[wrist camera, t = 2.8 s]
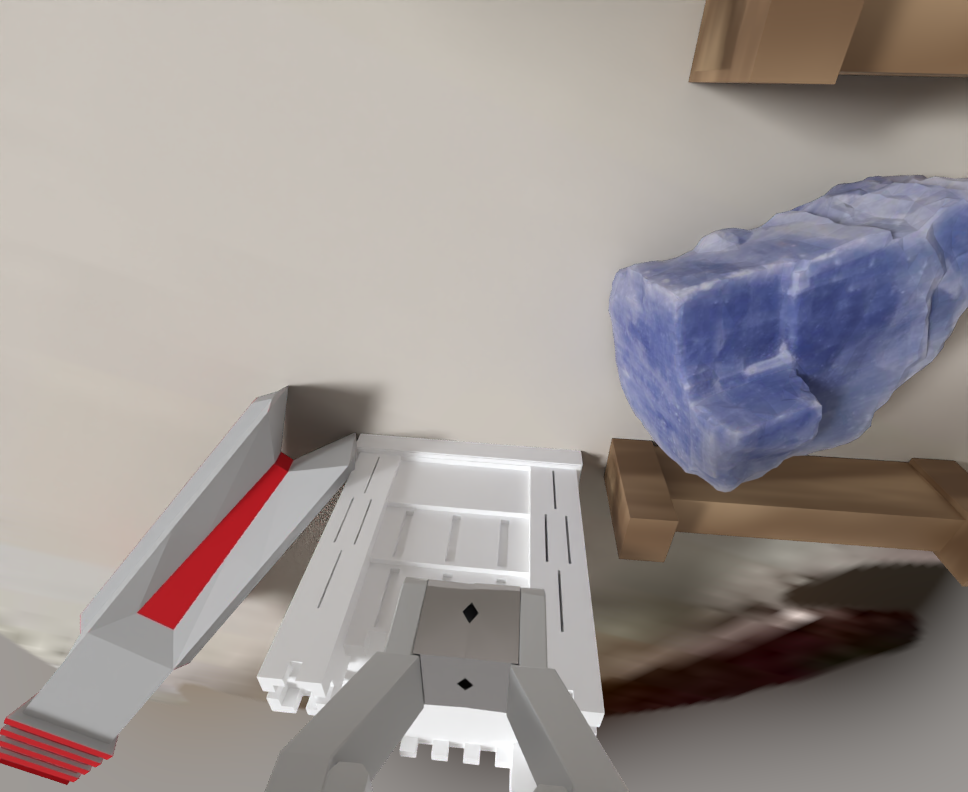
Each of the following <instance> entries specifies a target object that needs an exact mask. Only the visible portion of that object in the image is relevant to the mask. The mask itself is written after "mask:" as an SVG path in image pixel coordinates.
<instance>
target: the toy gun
mask: <svg viewBox="0 0 968 792" xmlns="http://www.w3.org/2000/svg"><path fill="white" fill-rule="evenodd" d="M287 394H288V386H286V387H284V388H283V389H281V390H279V391H277V392H273V393H270V394H267V395H264V396H260V397H257V398H256V399H255V400H254V401H253V402H252V403H251V404H250V406H249V407H248V408H247V409H246V411H245V412H244V413H243V414H242V416H241V417H240V418H239V419H238V421H237V422H236V423H235V424H234V425H233V427H232V428H231V429H230V430H229V432H228V433H227V434H226V435H225V437H224V438H223V439H222V440H221V442H220V443H219V444H218V445H217V446H216V448H215V449H214V450H213V451H212V453H211V454H210V455H209V456H208V458H207V459H206V460H205V461H204V463H203V464H202V465H201V466H200V467H199V469H198V470H197V471H196V472H195V474H194V475H193V476H192V477H191V479H190V480H189V481H188V482H187V483H186V485H185V486H184V487H183V488H182V490H181V491H180V492H179V493H178V495H177V496H176V497H175V498H174V500H173V501H172V502H171V503H170V504H169V506H168V507H167V508H166V509H165V511H164V512H163V513H162V514H161V516H160V517H159V518H158V519H157V521H156V522H155V523H154V524H153V525H152V527H151V528H150V529H149V530H148V532H147V533H146V534H145V535H144V537H143V538H142V539H141V540H140V542H139V543H138V544H137V545H136V546H135V548H134V549H133V550H132V551H131V553H130V554H129V555H128V556H127V558H126V559H125V560H124V561H123V563H122V564H121V565H120V566H119V567H118V569H117V570H116V571H115V572H114V574H113V575H112V576H111V577H110V579H109V580H108V581H107V582H106V584H105V585H104V586H103V587H102V588H101V590H100V591H99V592H98V593H97V595H96V596H95V597H94V598H93V600H92V601H91V602H90V603H89V605H88V606H87V607H86V608H85V609H84V611H83V612H82V613H81V614H80V635H79V637H78V639H77V640H76V642H75V644H74V645H73V647H72V649H71V651H70V652H69V654H68V656H67V657H66V659H65V661H64V662H63V663H62V664H61V666H60V667H59V668H58V669H57V671H56V672H55V673H54V674H53V675H52V677H51V678H50V679H49V680H48V682H47V683H46V684H45V685H44V687H43V688H42V689H41V690H40V691H39V692H38V693H37V694H36V695H34V696H33V697H32V698H31V699H29V700H28V701H27V702H25V703H24V704H23V705H21V706H20V707H19V708H18V709H16V710H15V711H14V712H12V713H11V714H10V715H9V716H7V717H6V719H5V721H4V723H5V724H6V725H5V726H4V727H3V728H2V729H1V731H0V735H1V736H0V763H2V764H5V765H8V766H11V767H14V768H17V769H20V770H23V771H26V772H29V773H32V774H35V775H39V776H41V777H45V778H48V779H51V780H54V781H57V782H60V783H63V784H66V785H67V784H68V783H69V781H71V782H74V781H76V780H77V779H79V777H80V775H81V774H83V775H85V774H86V773H88V772H89V771H90V770H91V767H92V766H93V767H97V766H98V765H100V764H101V763H102V760H103V759H106V760H107V759H109V758H111V757H112V756H113V754H114V750H115V746H116V742H117V738H118V734H119V733H120V732H121V730H122V729H123V728H124V727H125V726H126V724H127V723H128V722H129V721H130V720H131V719H132V718H133V716H134V715H135V714H136V713H137V712H138V711H139V709H140V708H141V707H142V706H143V705H144V704H145V702H146V701H147V700H148V699H149V698H150V697H151V695H152V694H153V693H154V692H155V691H156V690H157V688H158V687H159V686H160V685H161V684H162V683H163V681H164V680H165V679H166V678H167V677H168V676H169V674H170V673H171V672H172V671H173V670H175V669H177V668H179V667H182V666H184V665H186V664H189V663H190V662H191V661H192V659H193V658H194V657H195V656H196V655H197V654H198V652H199V651H200V650H201V649H202V648H203V647H204V645H205V644H206V643H207V642H208V641H209V640H210V638H211V637H212V636H213V635H214V634H215V633H216V631H217V630H218V629H219V628H220V627H221V626H222V625H223V623H224V622H225V621H226V620H227V619H228V618H229V616H230V615H231V614H232V613H233V612H234V611H235V609H236V608H237V607H238V606H239V605H240V604H241V602H242V601H243V600H244V599H245V598H246V597H247V595H248V594H249V593H250V592H251V591H252V590H253V588H254V587H255V586H256V585H257V584H258V583H259V582H260V580H261V579H262V578H263V577H264V576H265V575H266V573H267V572H268V571H269V570H270V569H271V568H272V566H273V565H274V564H275V563H276V562H277V561H278V559H279V558H280V557H281V556H282V555H283V554H284V552H285V551H286V550H287V549H288V548H289V547H290V546H291V544H292V543H293V542H294V541H295V540H296V539H297V537H298V536H299V535H300V534H301V533H302V532H303V530H304V529H305V528H306V527H307V526H308V525H309V523H310V522H311V521H312V520H313V519H314V518H315V516H316V515H317V514H318V513H319V512H320V511H321V509H322V508H323V507H324V506H325V505H326V504H327V503H328V501H329V500H330V499H331V498H332V497H333V496H334V494H335V493H336V492H337V491H338V490H339V489H340V487H341V486H342V485H343V484H344V483H345V482H346V480H347V479H348V477H349V475H350V473H351V471H353V470H355V462H356V450H357V442H356V433H353V434H350V435H348V436H346V437H344V438H341V439H339V440H337V441H335V442H333V443H330V444H328V445H326V446H324V447H321V448H319V449H317V450H315V451H313V452H310V453H308V454H306V455H304V456H301V457H299V458H297V459H295V460H293V459H291V458H290V457H288V456H287V455H285V454H284V453H282V452H281V447H282V438H283V429H284V420H285V412H286V403H287Z"/></svg>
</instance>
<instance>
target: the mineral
mask: <svg viewBox="0 0 968 792" xmlns="http://www.w3.org/2000/svg"><path fill="white" fill-rule="evenodd" d="M967 308H968V178H960V179H953V178H946V177H936V176H934V177H930V178H926V177H925V176H923V175H913V176H904V175H900V176H887V177H881V176H875V177H868V178H866V179H864V180H862V181H859V182H855V183H843V184H838V185H836V186H834V187H833V188H832V189H830V190H829V191H828V192H827V193H826V194H825V195H824V196H821V197H819V198H817V199H815V200H814V201H812V202H809V203H807V204H804V205H802V206H799V207H797V208H794V209H792V210H791V211H787V212H782V213H777V214H776V215H774V216H773V217H772V218H771V219H770V220H769V221H768V222H766V223H765V224H764V225H762V226H761V227H758V228H755V229H751V230H744V229H737V228H728V229H722V230H718V231H714V232H712V233H710V234H708V235H706V236H704V237H702V239H701V240H700V241H699V243H698V244H697V246H696V247H695V248H694V250H692V251H689V252H687V253H685V254H683V255H681V256H679V257H676V258H674V259H670V260H665V261H650V262H645V263H639V264H634V265H632V266H630V267H626V268H623V269H620V270H619V271H618V272H617V273H616V275H615V278H614V280H613V283H612V291H611V295H610V298H609V314H610V317H611V320H612V327H613V336H614V343H615V351H616V363H617V367H618V372H619V377H620V382H621V386H622V389H623V391H624V393H625V396H626V398H627V400H628V402H629V404H630V406H631V408H632V410H633V412H634V414H635V415H636V416H637V417H638V418H639V419H640V420H641V422H642V424H643V426H644V428H645V429H646V430H647V431H648V432H649V433H650V435H651V436H652V438H653V440H654V441H655V442H656V443H657V444H658V445H659V447H660V448H661V449H662V450H663V451H664V452H665V453H666V454H667V455H668V456H669V457H670V458H671V459H673V460H674V461H675V462H677V463H678V464H679V465H680V466H681V467H682V469H683V470H684V471H685V472H686V473H690V474H695V475H698V476H699V477H701V478H703V479H704V480H705V481H707V482H708V483H709V484H711V485H712V486H713V487H714V488H715V489H716V490H718V491H721V492H730V491H732V490H733V489H735V488H736V487H738V486H739V485H740V484H741V483H743V482H747V481H751V480H754V479H757V478H760V477H762V476H763V475H765V474H766V473H767V472H768V471H770V470H771V469H773V468H777V467H778V466H779V465H780V464H781V463H782V462H783V460H785V459H787V458H790V457H792V456H804V455H808V454H810V453H813V452H816V451H821V450H826V449H830V448H834V447H837V446H840V445H843V444H847V443H849V442H851V441H853V440H855V439H857V438H859V437H860V436H861V435H862V434H863V433H864V432H865V431H866V430H867V429H868V428H869V427H870V426H871V421H872V418H873V415H874V412H875V411H876V410H878V409H879V408H880V407H881V406H882V405H884V404H885V403H886V402H887V401H888V400H889V398H890V396H891V395H892V393H893V392H894V391H895V390H896V389H897V388H898V387H900V386H901V385H902V384H903V383H904V382H906V381H907V380H908V379H909V378H910V377H912V376H913V375H914V374H915V373H917V372H919V371H920V370H922V369H923V368H924V367H926V366H927V365H928V364H929V363H930V362H932V360H933V359H934V358H935V357H936V356H937V355H938V353H939V352H940V351H941V350H942V348H943V347H944V342H945V341H946V339H947V338H948V337H949V336H950V335H951V333H952V331H953V329H954V327H955V325H956V323H957V320H958V318H959V317H960V316H961V314H962V313H963V312H964V311H965V310H966V309H967Z"/></svg>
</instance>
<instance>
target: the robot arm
mask: <svg viewBox="0 0 968 792" xmlns="http://www.w3.org/2000/svg"><path fill="white" fill-rule="evenodd" d="M424 704H425V705H438V706H452V707H465V708H472V709H480V710H487V711H495V712H502V713H506V716H507V718H508V721H509V723H510V725H511V727H512V730H513V732H514V734H515V737H516V739H517V741H518V744H519V746H520V748H521V751H522V753H523V755H524V757H525V760H526V762H527V764H528V767H529V769H530V771H531V774H532V776H533V778H534V781H535V783H536V785H537V787H536V788H535V790H534V791H533V792H629V790H628V788H627V787H626V785H625V784H624V782H623V780H622V779H621V777H620V775H619V774H618V772H617V770H616V769H615V767H614V765H613V764H612V762H611V760H610V759H609V757H608V756H607V754H606V752H605V751H604V749H603V747H602V746H601V744H600V742H599V741H598V739H597V737H596V736H595V734H594V732H593V731H592V729H591V727H590V726H589V724H588V723H587V721H586V719H585V718H584V716H583V714H582V713H581V711H580V709H579V708H578V706H577V704H576V703H575V701H574V699H573V698H572V696H571V695H570V693H569V691H568V690H567V688H566V686H565V685H564V683H563V681H562V680H561V678H560V676H559V675H558V673H557V671H556V670H555V669H552V668H548V662H547V625H546V594H545V591H544V589H540V588H524V587H521V588H520V586H509V585H495V584H481V583H475V584H472V583H462V582H453V581H443V580H433V579H426V578H414V577H406V578H405V580H404V582H403V584H402V587H401V590H400V594H399V598H398V602H397V605H396V609H395V613H394V616H393V620H392V624H391V628H390V631H389V635H388V639H387V642H386V646H385V650H384V652H379V651H377V652H376V653H375V654H374V655H373V656H372V657H371V658H370V659H369V660H368V661H367V662H366V663H365V664H364V665H363V666H362V667H361V668H360V669H359V670H358V671H357V673H356V674H355V675H354V676H353V677H352V678H351V679H350V680H349V681H348V682H347V683H346V684H345V685H344V686H343V687H342V688H341V689H340V690H339V691H338V692H337V693H336V694H335V695H334V696H333V697H332V698H331V699H330V700H329V701H328V703H327V704H326V705H325V706H324V707H323V708H322V709H321V710H320V711H319V712H318V713H317V714H316V715H315V716H314V717H313V718H312V719H311V720H310V721H309V722H308V723H307V724H306V725H305V726H304V727H303V728H302V729H301V731H299V733H298V734H297V735H296V736H295V737H294V738H293V739H292V740H291V741H290V742H289V743H288V744H287V745H286V746H285V747H284V748H283V749H282V750H281V751H280V753H279V756H278V758H277V761H276V763H275V766H274V769H273V771H272V774H271V776H270V779H269V781H268V784H267V787H266V789H265V792H373V789H372V785H371V781H372V780H373V778H374V777H375V775H376V774H377V773H378V771H379V770H380V769H381V767H382V765H383V764H384V763H385V762H386V760H387V759H388V757H389V756H390V754H391V753H392V752H393V750H394V749H395V748H396V746H397V745H398V743H399V742H400V741H401V739H402V738H403V736H404V735H405V734H406V732H407V731H408V729H409V728H410V727H411V725H412V724H413V722H414V721H415V720H416V718H417V717H418V715H419V714H420V713H421V711H422V710H423V708H424Z"/></svg>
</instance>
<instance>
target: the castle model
mask: <svg viewBox="0 0 968 792" xmlns="http://www.w3.org/2000/svg"><path fill="white" fill-rule="evenodd" d="M582 466H583V463H582V455H581V451H580V450H567V449H554V448H541V447H528V446H516V445H503V444H490V443H477V442H464V441H451V440H439V439H426V438H413V437H400V436H387V435H375V434H362V433H361V434H360V436H359V438H358V440H357V450H356V462H355V470H353V471H351V473H350V475H349V477H348V480H347V482H346V484H345V486H344V488H343V490H342V493H341V495H340V497H339V499H338V501H337V503H336V506H335V508H334V510H333V512H332V514H331V516H330V519H329V521H328V523H327V525H326V527H325V530H324V532H323V534H322V536H321V538H320V540H319V543H318V545H317V547H316V549H315V551H314V553H313V556H312V558H311V560H310V562H309V564H308V566H307V569H306V571H305V573H304V575H303V577H302V579H301V582H300V584H299V586H298V588H297V590H296V592H295V595H294V597H293V599H292V601H291V603H290V605H289V608H288V610H287V612H286V614H285V616H284V618H283V621H282V623H281V625H280V627H279V629H278V631H277V634H276V636H275V638H274V640H273V642H272V644H271V647H270V649H269V651H268V653H267V655H266V657H265V660H264V662H263V664H262V666H261V668H260V670H259V673H258V675H257V679H258V681H259V683H260V685H261V687H262V690H263V691H268V692H269V693H268V695H267V697H266V698H267V700H268V703H269V705H270V707H271V709H272V711H279V712H288V713H296V712H297V710H298V707H299V704H300V702H301V699H302V696H303V695H304V696H310V698H309V700H308V703H307V706H306V711H307V713H308V715H316V714H317V713H318V712H319V711H320V710H321V709H322V708H323V707H324V706H325V705H326V704H327V703H328V701H329V700H330V699H331V698H332V697H333V696H334V695H335V694H336V693H337V692H338V691H339V690H340V689H341V688H342V687H343V686H344V685H345V684H346V683H347V682H348V681H349V680H350V679H351V678H352V677H353V676H354V675H355V674H356V673H357V671H358V670H359V669H360V668H361V667H362V666H363V665H364V664H365V663H366V662H367V661H368V660H369V659H370V658H371V657H372V656H373V655H374V654H375V653H376V652H377V651H379V652H384V650H385V646H386V642H387V639H388V635H389V631H390V628H391V624H392V620H393V616H394V613H395V609H396V605H397V602H398V598H399V594H400V590H401V587H402V584H403V582H404V580H405V578H406V577H414V578H426V579H433V580H443V581H453V582H462V583H472V584H475V583H481V584H495V585H509V586H520V588H521V587H524V588H540V589H544V591H545V594H546V625H547V662H548V668H552V669H555V670H556V671H557V673H558V675H559V676H560V678H561V680H562V681H563V683H564V685H565V686H566V688H567V690H568V691H569V693H570V695H571V696H572V698H573V699H574V701H575V703H576V704H577V706H578V708H579V709H580V711H581V713H582V714H583V716H584V718H585V719H586V721H587V723H588V724H589V726H590V727H591V729H592V731H593V732H594V734H595V736H596V734H597V729H596V727H600V724H601V721H602V719H603V716H604V705H603V697H602V688H601V679H600V671H599V662H598V653H597V645H596V636H595V628H594V619H593V610H592V602H591V593H590V584H589V576H588V567H587V559H586V550H585V541H584V533H583V524H582V515H581V507H580V498H579V490H578V486H579V481H580V476H581V471H582ZM418 743H420V744H429V745H433V746H432V753H431V757H432V760H441V761H447V760H448V752H449V747H456V748H464V756H463V763H467V764H476V765H479V758H480V750H483V751H492V752H496V756H495V767H502V768H510V785H509V792H533V791H534V790H535V788H536V787H537V785H536V783H535V781H534V778H533V776H532V774H531V771H530V769H529V767H528V764H527V762H526V760H525V757H524V755H523V753H522V751H521V748H520V746H519V744H518V741H517V739H516V737H515V734H514V732H513V730H512V727H511V725H510V723H509V721H508V718H507V716H506V713H502V712H495V711H487V710H480V709H472V708H465V707H452V706H438V705H425V704H424V708H423V710H422V711H421V713H420V714H419V715H418V717H417V718H416V720H415V721H414V722H413V724H412V725H411V727H410V728H409V729H408V731H407V732H406V734H405V735H404V736H403V738H402V739H401V745H400V756H405V757H414V758H416V754H417V749H418Z"/></svg>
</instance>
